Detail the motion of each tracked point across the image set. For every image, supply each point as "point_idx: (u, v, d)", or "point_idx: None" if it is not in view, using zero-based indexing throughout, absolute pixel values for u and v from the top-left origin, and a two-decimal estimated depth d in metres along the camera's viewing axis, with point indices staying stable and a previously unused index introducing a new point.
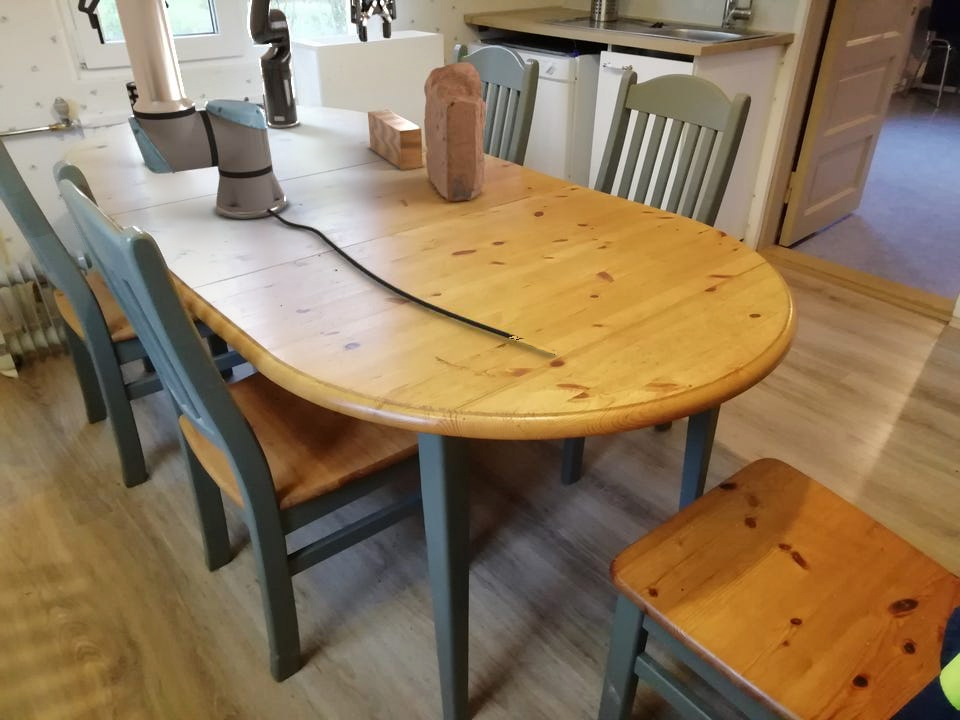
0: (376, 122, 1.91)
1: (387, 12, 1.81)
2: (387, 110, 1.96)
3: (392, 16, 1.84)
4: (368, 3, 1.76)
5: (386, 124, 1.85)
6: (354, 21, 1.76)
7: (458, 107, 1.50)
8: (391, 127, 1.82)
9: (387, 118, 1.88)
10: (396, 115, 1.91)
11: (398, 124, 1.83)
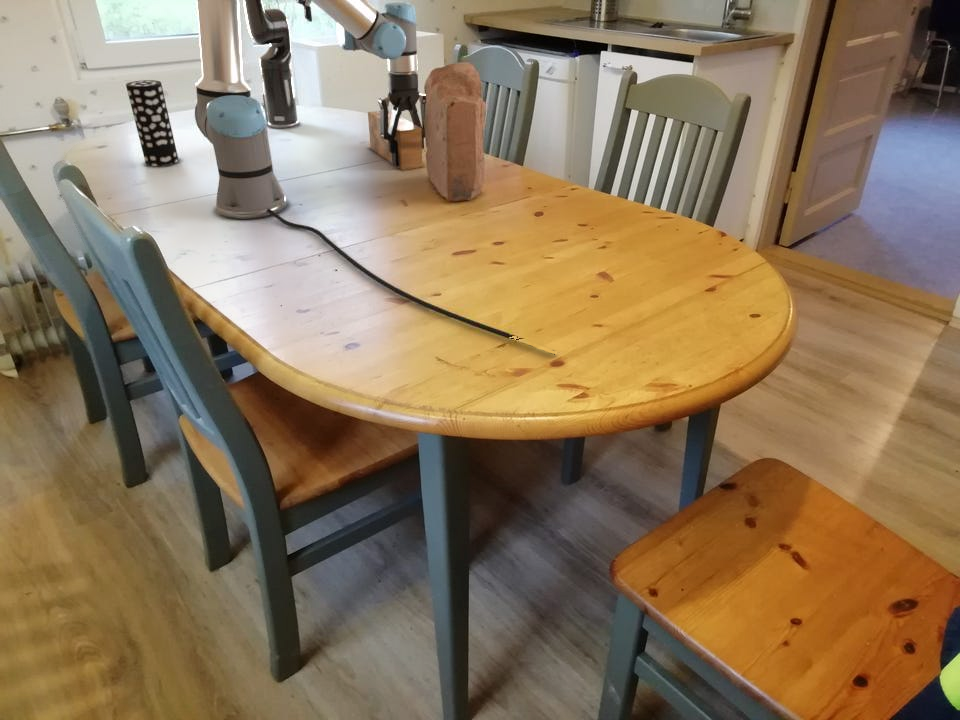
0: (376, 122, 1.91)
1: None
2: None
3: None
4: None
5: None
6: (297, 1, 1.86)
7: (458, 107, 1.50)
8: None
9: None
10: None
11: (398, 124, 1.83)
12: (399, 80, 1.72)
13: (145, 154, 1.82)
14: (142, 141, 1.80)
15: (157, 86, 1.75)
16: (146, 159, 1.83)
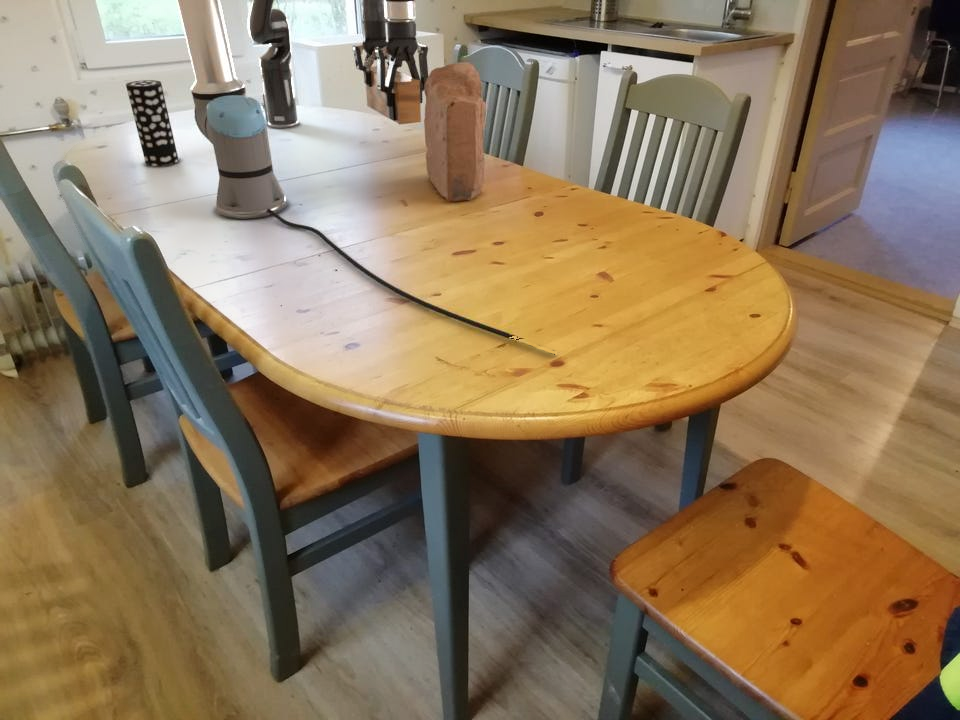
0: (373, 77, 1.84)
1: None
2: None
3: None
4: (370, 49, 1.82)
5: None
6: (358, 68, 1.84)
7: (458, 107, 1.50)
8: None
9: None
10: None
11: (396, 77, 1.77)
12: (397, 27, 1.65)
13: (145, 154, 1.82)
14: (142, 141, 1.80)
15: (157, 86, 1.75)
16: (146, 159, 1.83)
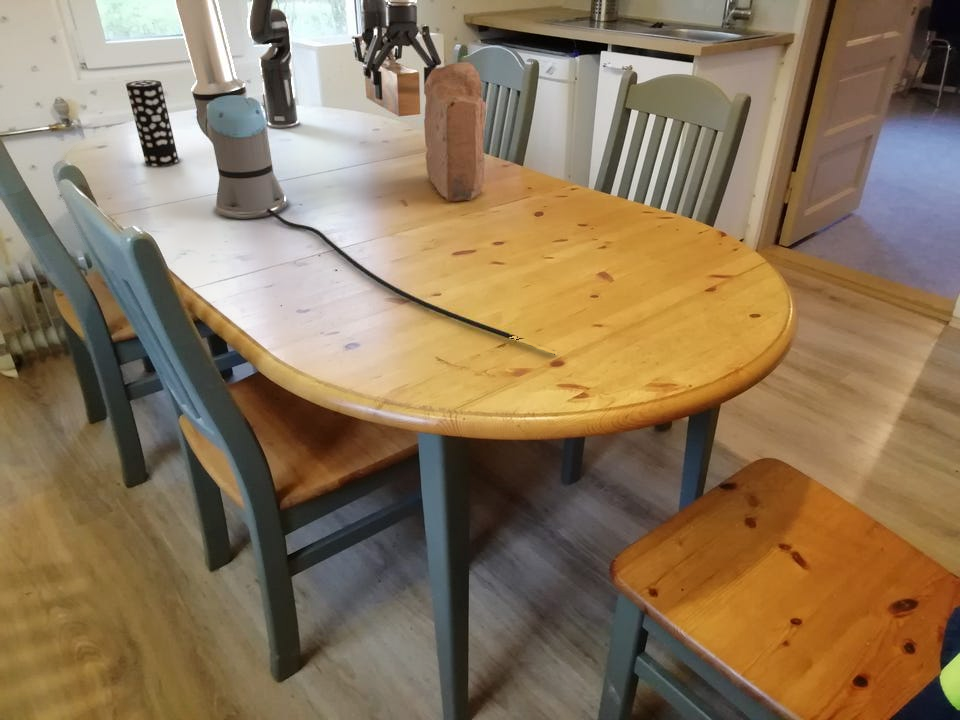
0: None
1: None
2: None
3: (396, 55, 1.87)
4: (369, 40, 1.81)
5: (382, 69, 1.77)
6: (357, 59, 1.83)
7: (458, 107, 1.50)
8: (388, 71, 1.75)
9: (384, 64, 1.81)
10: (393, 61, 1.84)
11: (395, 68, 1.76)
12: (398, 11, 1.62)
13: (145, 154, 1.82)
14: (142, 141, 1.80)
15: (157, 86, 1.75)
16: (146, 159, 1.83)
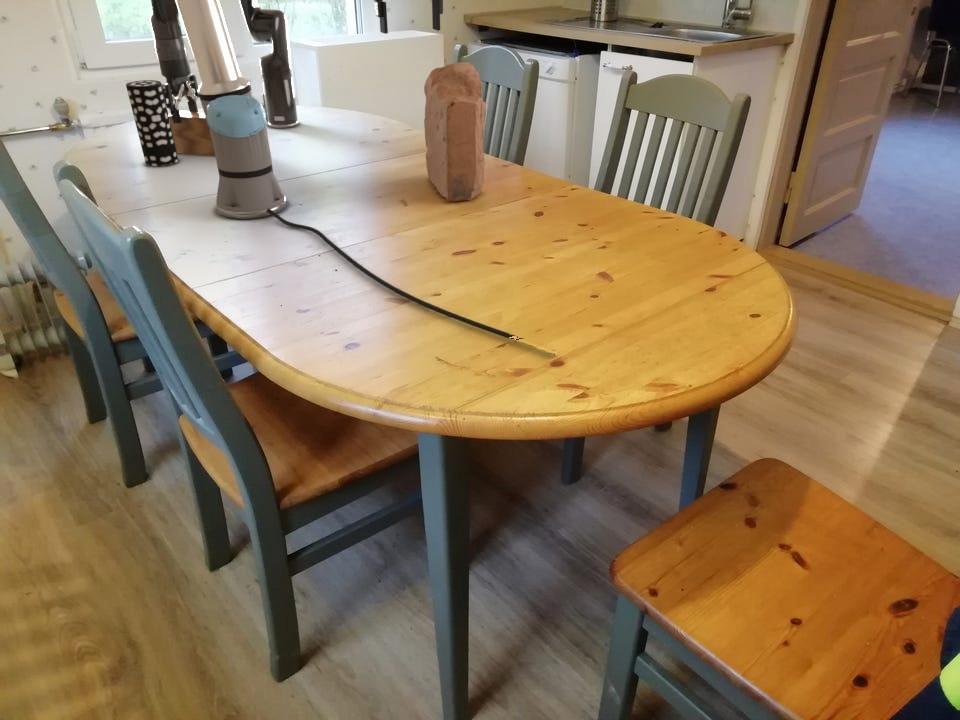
0: (189, 123, 1.88)
1: (193, 92, 1.90)
2: (181, 111, 1.93)
3: (196, 94, 1.93)
4: (176, 87, 1.84)
5: None
6: (167, 106, 1.82)
7: (458, 107, 1.50)
8: None
9: (202, 115, 1.88)
10: (202, 112, 1.92)
11: None
12: None
13: (145, 154, 1.82)
14: (142, 141, 1.80)
15: (157, 86, 1.75)
16: (146, 159, 1.83)
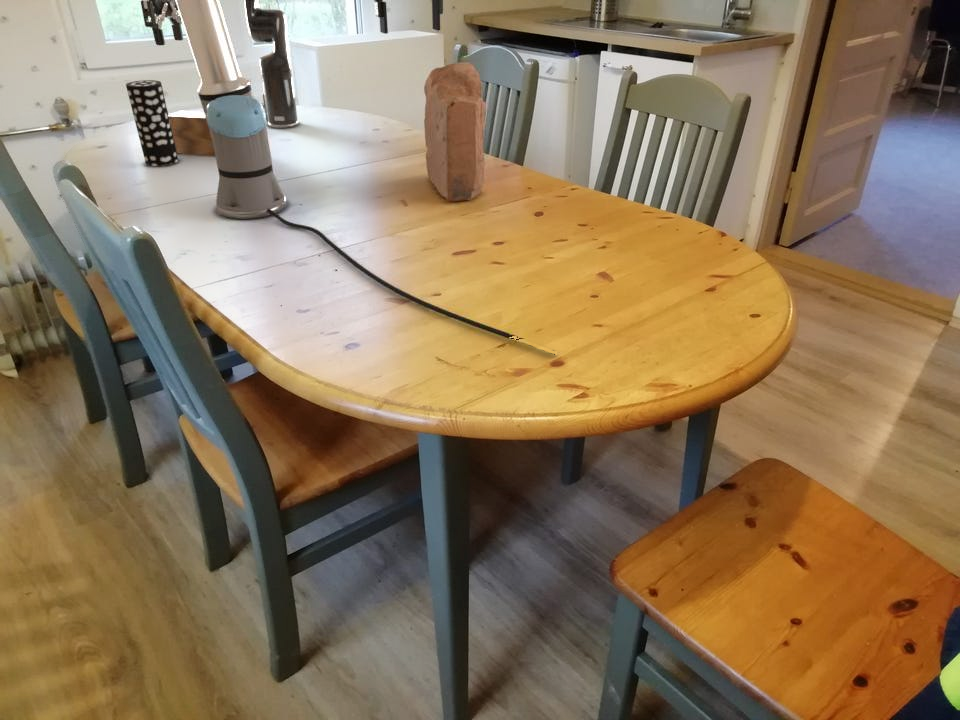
0: (189, 123, 1.88)
1: (177, 14, 1.79)
2: (181, 111, 1.93)
3: None
4: (159, 5, 1.73)
5: None
6: (149, 24, 1.72)
7: (458, 107, 1.50)
8: None
9: (202, 115, 1.88)
10: (202, 112, 1.92)
11: None
12: None
13: (145, 154, 1.82)
14: (142, 141, 1.80)
15: (157, 86, 1.75)
16: (146, 159, 1.83)
